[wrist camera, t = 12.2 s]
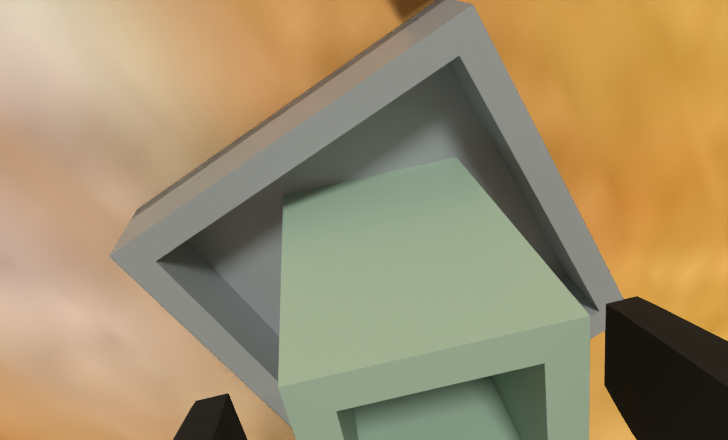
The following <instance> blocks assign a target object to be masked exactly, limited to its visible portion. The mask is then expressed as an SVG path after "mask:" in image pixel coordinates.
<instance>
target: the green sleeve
mask: <svg viewBox="0 0 728 440" xmlns="http://www.w3.org/2000/svg"><path fill="white" fill-rule="evenodd" d="M589 372H590V315H589V314H588V313H587V312H586V310H585V309H584V308H583V307H582V306H581V304H580V303H579V302H578V301H577V300H576V298H575V297H574V296H573V295H572V294H571V293H570V291H569V290H568V289H567V288H566V287H565V285H564V284H563V283H562V282H561V281H560V279H559V278H558V277H557V276H556V275H555V274H554V272H553V271H552V270H551V269H550V268H549V266H548V265H547V264H546V263H545V262H544V261H543V259H542V258H541V257H540V256H539V255H538V253H537V252H536V251H535V250H534V249H533V247H532V246H531V245H530V244H529V243H528V242H527V240H526V239H525V238H524V237H523V236H522V234H521V233H520V232H519V231H518V230H517V228H516V227H515V226H514V225H513V224H512V223H511V221H510V220H509V219H508V218H507V217H506V215H505V214H504V213H503V212H502V211H501V209H500V208H499V207H498V206H497V205H496V204H495V202H494V201H493V200H492V199H491V198H490V196H489V195H488V194H487V193H486V192H485V190H484V189H483V188H482V187H481V186H480V185H479V183H478V182H477V181H476V180H475V179H474V177H473V176H472V175H471V174H470V173H469V172H468V170H467V169H466V168H465V167H464V166H463V164H462V163H461V162H460V161H459V160H458V158H457V157H456V158H451V159H447V160H442V161H437V162H433V163H428V164H424V165H419V166H414V167H410V168H405V169H401V170H396V171H392V172H387V173H382V174H378V175H373V176H369V177H364V178H360V179H355V180H350V181H346V182H341V183H337V184H332V185H328V186H323V187H318V188H314V189H309V190H305V191H300V192H296V193H291V194H286V195H283V219H282V256H281V294H280V331H279V368H278V389H279V392H280V395H281V398H282V401H283V403H284V406H285V409H286V412H287V415H288V418H289V421H290V424H291V427H292V430H293V433H294V436H295V439H296V440H589Z"/></svg>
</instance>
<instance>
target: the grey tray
mask: <svg viewBox="0 0 728 440" xmlns="http://www.w3.org/2000/svg"><path fill="white" fill-rule="evenodd" d="M456 157H457V158H458V160H459V161H460V162H461V163H462V164H463V166H464V167H465V168H466V169H467V170H468V172H469V173H470V174H471V175H472V176H473V177H474V179H475V180H476V181H477V182H478V183H479V185H480V186H481V187H482V188H483V189H484V190H485V192H486V193H487V194H488V195H489V196H490V198H491V199H492V200H493V201H494V202H495V204H496V205H497V206H498V207H499V208H500V209H501V211H502V212H503V213H504V214H505V215H506V217H507V218H508V219H509V220H510V221H511V223H512V224H513V225H514V226H515V227H516V228H517V230H518V231H519V232H520V233H521V234H522V236H523V237H524V238H525V239H526V240H527V242H528V243H529V244H530V245H531V246H532V247H533V249H534V250H535V251H536V252H537V253H538V255H539V256H540V257H541V258H542V259H543V261H544V262H545V263H546V264H547V265H548V266H549V268H550V269H551V270H552V271H553V272H554V274H555V275H556V276H557V277H558V278H559V279H560V281H561V282H562V283H563V284H564V285H565V287H566V288H567V289H568V290H569V291H570V293H571V294H572V295H573V296H574V297H575V298H576V300H577V301H578V302H579V303H580V304H581V306H582V307H583V308H584V309H585V310H586V312H587V313H588V314H589V315H590V339H591V338H592V337H594V336H596V335H598V334H599V333H601V332H603V331H605V323H606V304H607V303H611V302H615V301H620V300H624V299H623V297H622V295H621V293H620V291H619V289H618V287H617V285H616V283H615V281H614V279H613V277H612V275H611V273H610V271H609V269H608V267H607V265H606V264H605V262H604V260H603V258H602V256H601V254H600V252H599V250H598V248H597V246H596V244H595V242H594V240H593V238H592V236H591V234H590V232H589V230H588V228H587V226H586V224H585V222H584V220H583V219H582V217H581V215H580V213H579V211H578V209H577V207H576V205H575V203H574V201H573V199H572V197H571V195H570V193H569V191H568V189H567V187H566V185H565V183H564V181H563V179H562V177H561V175H560V174H559V172H558V170H557V168H556V166H555V164H554V162H553V160H552V158H551V156H550V154H549V152H548V150H547V148H546V146H545V144H544V142H543V140H542V138H541V136H540V134H539V132H538V130H537V129H536V127H535V125H534V123H533V121H532V119H531V117H530V115H529V113H528V111H527V109H526V107H525V105H524V103H523V101H522V99H521V97H520V95H519V93H518V91H517V89H516V87H515V85H514V84H513V82H512V80H511V78H510V76H509V74H508V72H507V70H506V68H505V66H504V64H503V62H502V60H501V58H500V56H499V54H498V52H497V50H496V48H495V46H494V44H493V42H492V40H491V38H490V37H489V35H488V33H487V31H486V29H485V27H484V25H483V23H482V21H481V19H480V17H479V15H478V13H477V11H476V9H475V7H474V5H473V4H469V3H465V2H461V1H457V0H436V1H434V2H433V3H432V4H430V5H429V6H427V7H426V8H424V9H423V10H422V11H420V12H419V13H417V14H416V15H414V16H413V17H412V18H410V19H409V20H407V21H406V22H404V23H403V24H402V25H400V26H399V27H397V28H396V29H394V30H393V31H392V32H390V33H389V34H387V35H386V36H384V37H383V38H382V39H380V40H379V41H377V42H376V43H374V44H373V45H372V46H370V47H369V48H367V49H366V50H364V51H363V52H362V53H360V54H359V55H357V56H356V57H354V58H353V59H352V60H350V61H349V62H347V63H346V64H344V65H343V66H342V67H340V68H339V69H337V70H336V71H334V72H333V73H332V74H330V75H329V76H327V77H326V78H324V79H323V80H322V81H320V82H319V83H317V84H316V85H314V86H313V87H312V88H310V89H309V90H307V91H306V92H304V93H303V94H302V95H300V96H299V97H297V98H296V99H294V100H293V101H292V102H290V103H289V104H287V105H286V106H284V107H283V108H282V109H280V110H279V111H277V112H276V113H274V114H273V115H272V116H270V117H269V118H267V119H266V120H264V121H263V122H262V123H260V124H259V125H257V126H256V127H254V128H253V129H252V130H250V131H249V132H247V133H246V134H244V135H243V136H242V137H240V138H239V139H237V140H236V141H234V142H233V143H232V144H230V145H229V146H227V147H226V148H224V149H223V150H222V151H220V152H219V153H217V154H216V155H214V156H213V157H212V158H210V159H209V160H207V161H206V162H204V163H203V164H202V165H200V166H199V167H197V168H196V169H194V170H193V171H192V172H190V173H189V174H187V175H186V176H184V177H183V178H182V179H180V180H179V181H177V182H176V183H174V184H173V185H172V186H170V187H169V188H167V189H166V190H165V191H163V192H162V193H160V194H159V195H157V196H156V197H155V198H153V199H152V200H150V201H149V202H147V203H146V204H145V205H143V206H142V207H140V208H139V209H137V211H136V212H135V214H134V216H133V217H132V219H131V221H130V222H129V224H128V226H127V227H126V229H125V231H124V232H123V234H122V236H121V237H120V239H119V240H118V242H117V244H116V245H115V247H114V249H113V250H112V252H111V254H110V255H109V257H110V258H111V259H113V260H114V261H115V262H116V263H117V264H118V265H119V266H120V267H121V268H122V269H123V270H124V271H125V272H126V273H127V274H129V275H130V276H131V277H132V278H133V279H134V280H135V281H136V282H137V283H138V284H139V285H140V286H141V287H142V288H143V289H144V290H146V291H147V292H148V293H149V294H150V295H151V296H152V297H153V298H154V299H155V300H156V301H157V302H158V303H159V304H160V305H161V306H163V307H164V308H165V309H166V310H167V311H168V312H169V313H170V314H171V315H172V316H173V317H174V318H175V319H176V320H177V321H179V322H180V323H181V324H182V325H183V326H184V327H185V328H186V329H187V330H188V331H189V332H190V333H191V334H192V335H193V336H194V337H196V338H197V339H198V340H199V341H200V342H201V343H202V344H203V345H204V346H205V347H206V348H207V349H208V350H209V351H210V352H212V353H213V354H214V355H215V356H216V357H217V358H218V359H219V360H220V361H221V362H222V363H223V364H224V365H225V366H226V367H227V368H229V369H230V370H231V371H232V372H233V373H234V374H235V375H236V376H237V377H238V378H239V379H240V380H241V381H242V382H243V383H244V384H246V385H247V386H248V387H249V388H250V389H251V390H252V391H253V392H254V393H255V394H256V395H257V396H258V397H259V398H260V399H262V400H263V401H264V402H265V403H266V404H267V405H268V406H269V407H270V408H271V409H272V410H273V411H274V412H275V413H276V414H277V415H279V416H280V417H281V418H282V419H283V420H284V421H285V422H286V423H287V424H288V425H289V426H290V427H291V424H290V421H289V418H288V415H287V412H286V409H285V406H284V403H283V401H282V398H281V395H280V392H279V389H278V368H279V331H280V294H281V256H282V219H283V195H286V194H291V193H296V192H300V191H305V190H309V189H314V188H318V187H323V186H328V185H332V184H337V183H341V182H346V181H350V180H355V179H360V178H364V177H369V176H373V175H378V174H382V173H387V172H392V171H396V170H401V169H405V168H410V167H414V166H419V165H424V164H428V163H433V162H437V161H442V160H447V159H451V158H456ZM291 428H292V427H291Z"/></svg>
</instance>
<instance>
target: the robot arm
mask: <svg viewBox="0 0 728 440" xmlns="http://www.w3.org/2000/svg"><path fill="white" fill-rule="evenodd" d="M604 385H605V387H606V388H607V390H608V392H609V394H610V396H611V397H612V399H613V401H614V403H615V405H616V406H617V408H618V410H619V412H620V413H621V415H622V417H623V418H624V420H625V422H626V423H627V425H628V427H629V428H630V430H631V432H632V434H633V435H634V436H635V438H636V439H637V440H728V341H726V340H724V339H722V338H720V337H718V336H716V335H714V334H712V333H710V332H708V331H706V330H704V329H702V328H700V327H698V326H696V325H694V324H692V323H690V322H688V321H686V320H684V319H682V318H681V317H679V316H677V315H675V314H673V313H671V312H669V311H667V310H665V309H663V308H661V307H659V306H657V305H655V304H652V303H650V302H648V301H646V300H644V299H642V298H640V297H632V298H628V299H624V300H620V301H615V302H611V303H607V304H606V323H605V384H604ZM173 440H247V438H246V435H245V433H244V430H243V428H242V425H241V423H240V421H239V418H238V416H237V413H236V411H235V408H234V406H233V403H232V401H231V399H230V396H229V394H224V395H219V396H215V397H211V398H207V399H202V400H198V401H196V402H195V403H194V405H193V406H192V408H191V409H190V411H189V413H188V414H187V416H186V418H185V420H184V421H183V423H182V425H181V427H180V428H179V430H178V432H177V433H176V435H175V437H174V439H173Z"/></svg>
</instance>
